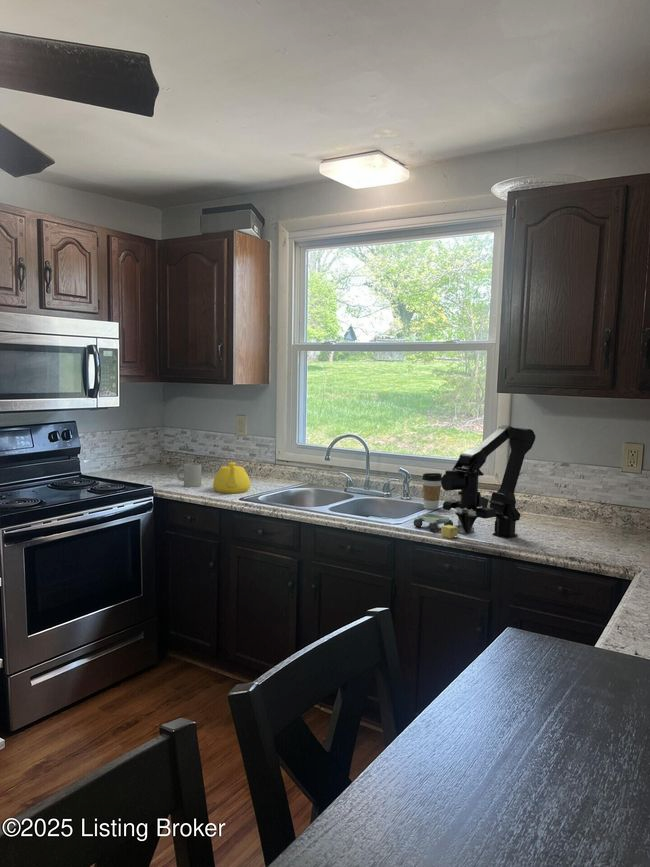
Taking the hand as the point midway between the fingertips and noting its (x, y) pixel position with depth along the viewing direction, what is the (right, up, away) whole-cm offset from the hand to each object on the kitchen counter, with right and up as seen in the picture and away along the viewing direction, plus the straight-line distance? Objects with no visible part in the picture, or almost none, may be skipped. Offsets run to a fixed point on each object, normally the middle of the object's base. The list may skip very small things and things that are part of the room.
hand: (467, 533), depth 218 cm
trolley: (-9, -1, +18) cm, 20 cm away
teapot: (-94, +7, +85) cm, 127 cm away
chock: (-5, -2, +6) cm, 8 cm away
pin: (+1, -1, +14) cm, 14 cm away
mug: (-117, +8, +96) cm, 151 cm away
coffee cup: (-3, +2, +55) cm, 55 cm away
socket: (+1, -1, +14) cm, 14 cm away
